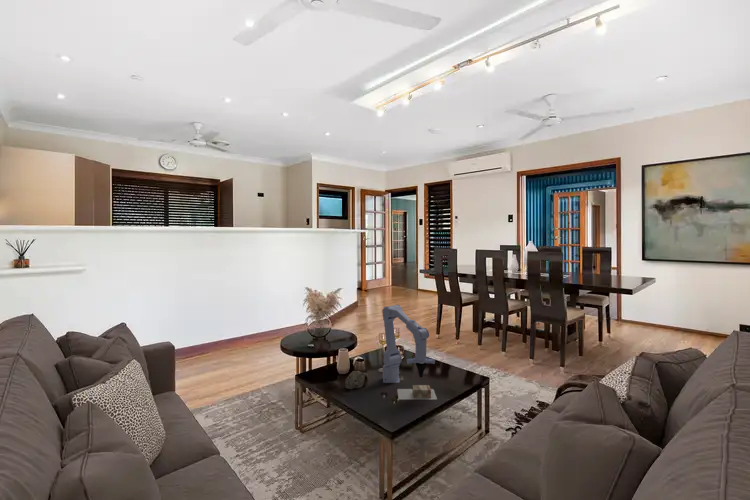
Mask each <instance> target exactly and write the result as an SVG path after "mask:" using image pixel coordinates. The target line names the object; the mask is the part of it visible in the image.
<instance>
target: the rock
mask: <svg viewBox="0 0 750 500" xmlns="http://www.w3.org/2000/svg"><path fill="white" fill-rule="evenodd" d="M366 376H367V373H366V372H362V371H359V370H352V372H350V374H348V376H347V377H346V378H345V388H346V389H348V390H353V389H360V388H362V387H363V385H364V384H365V383H364V382H365V378H366Z"/></svg>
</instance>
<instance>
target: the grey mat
mask: <svg viewBox="0 0 750 500" xmlns="http://www.w3.org/2000/svg"><path fill="white" fill-rule="evenodd" d="M430 389H431V398H414V397H413V388H397V389H396V390H397V392H396V393H397V396H398V398H397V399H398V400H403V401H404V400H406V401H407V400H410V401H411V400H413V401H415V400H419V401H420V400H423V401H424V400H426V401H427V400H429V401H430V400H437V401H438V398H437V394H436V393H435V388H434V389H433V388H430Z"/></svg>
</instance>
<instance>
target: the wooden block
mask: <svg viewBox="0 0 750 500" xmlns="http://www.w3.org/2000/svg"><path fill="white" fill-rule="evenodd" d="M412 389H413V397H414V398H431V389H432V388H431V387H430V384H412Z"/></svg>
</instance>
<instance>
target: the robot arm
mask: <svg viewBox="0 0 750 500" xmlns="http://www.w3.org/2000/svg"><path fill="white" fill-rule="evenodd" d="M381 312H382V319H383V324H384V334H385V342H386V350H385V351H384V352H383V364H384V365H382V384H384V383H385V384H399V383H400V382H401V381H400V380H401V379H400V376H399V375H400V371H399V370H400V369H399V368H400V367H399V366H400V365H401V363H402V361H403V359H402V358H403V357H402V354H401V351H400V350H399V349H398V348H397V343H396V336H395V335H396V334H395V328H394V321H395V320H396V318H398V319H399V321H401V322H403V323H404V324H405V327H406V329H407V330H409V332H410V333H412V336H413V338H414V343H415V357H412V358H406V363H407V365H408V364H415V366H416V368H417V370H418V371H417V372H418V377H419V378H423V375H424V372H425V369H426V367H427V364H433V365H436V364H435V363H436V359H434V358H427V344H428V343H427V341H428V340H427V339H429V337H430V332H429V330H428V329H427V328H426V327H422V326H421V325H419V324H418V323H417V321H416V320H415V319H410V318H409V316H407V314H406V313H405V312H404V311H403V307H402V306H401V305H400V304H396V305H389V306H384V307H383V309H382V310H381Z"/></svg>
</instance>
